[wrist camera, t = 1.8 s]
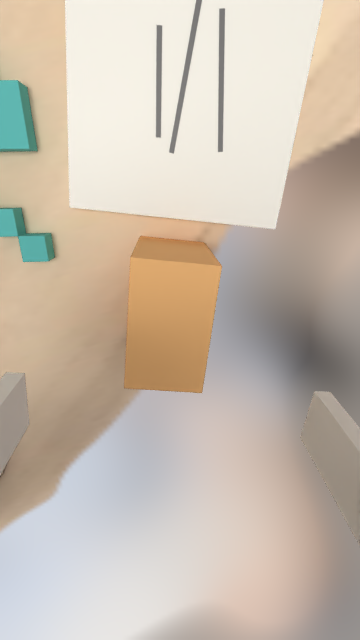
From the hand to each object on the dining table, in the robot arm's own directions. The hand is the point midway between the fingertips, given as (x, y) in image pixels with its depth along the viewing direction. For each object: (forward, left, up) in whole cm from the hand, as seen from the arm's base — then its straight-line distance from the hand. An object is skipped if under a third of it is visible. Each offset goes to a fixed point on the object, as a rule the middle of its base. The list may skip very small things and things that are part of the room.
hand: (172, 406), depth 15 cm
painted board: (+21, 0, -19) cm, 28 cm away
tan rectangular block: (0, 0, -19) cm, 19 cm away
